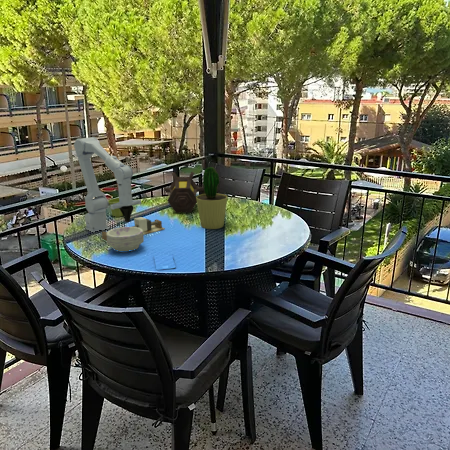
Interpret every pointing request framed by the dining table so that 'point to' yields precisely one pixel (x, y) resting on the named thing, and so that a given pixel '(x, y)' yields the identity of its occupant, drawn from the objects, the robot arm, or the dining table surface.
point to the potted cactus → (211, 201)
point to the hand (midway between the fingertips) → (127, 221)
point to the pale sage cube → (141, 223)
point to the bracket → (149, 224)
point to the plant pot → (116, 211)
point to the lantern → (183, 193)
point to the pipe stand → (155, 227)
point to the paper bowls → (125, 238)
